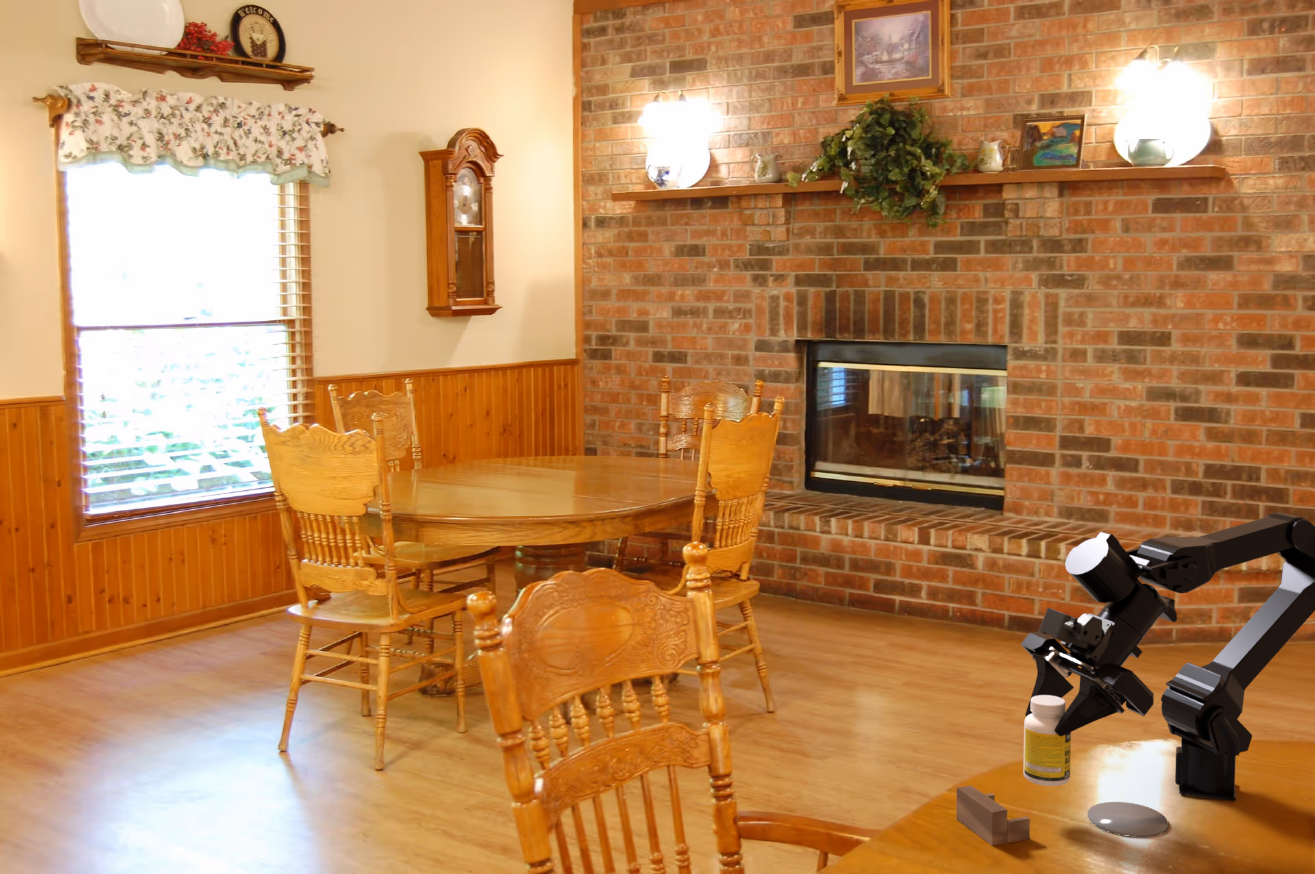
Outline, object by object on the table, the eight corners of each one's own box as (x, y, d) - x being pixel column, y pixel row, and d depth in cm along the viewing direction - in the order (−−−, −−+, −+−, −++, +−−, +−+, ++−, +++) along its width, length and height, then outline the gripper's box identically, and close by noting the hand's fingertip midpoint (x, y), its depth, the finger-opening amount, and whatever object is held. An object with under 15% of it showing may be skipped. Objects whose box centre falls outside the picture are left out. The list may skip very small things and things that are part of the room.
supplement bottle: (1073, 788, 146) (1074, 708, 145) (1025, 786, 147) (1026, 706, 146) (1067, 771, 151) (1068, 693, 150) (1021, 768, 152) (1022, 691, 151)
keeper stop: (991, 812, 152) (991, 781, 151) (1029, 838, 145) (1029, 806, 144) (956, 818, 150) (956, 787, 150) (992, 845, 143) (992, 812, 143)
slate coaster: (1167, 810, 151) (1168, 807, 151) (1167, 841, 143) (1167, 838, 143) (1090, 800, 155) (1090, 797, 155) (1084, 830, 146) (1085, 827, 146)
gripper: (1034, 568, 157) (958, 663, 155) (1134, 603, 139) (1050, 711, 137) (1086, 622, 160) (1012, 716, 158) (1190, 662, 142) (1108, 768, 140)
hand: (1042, 725), depth 148 cm, fingers closed on supplement bottle, 5 cm apart
